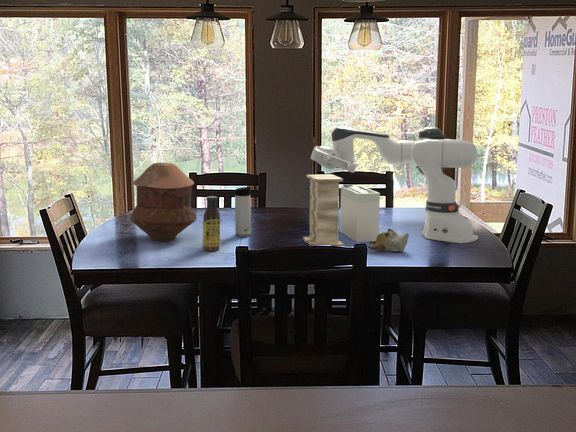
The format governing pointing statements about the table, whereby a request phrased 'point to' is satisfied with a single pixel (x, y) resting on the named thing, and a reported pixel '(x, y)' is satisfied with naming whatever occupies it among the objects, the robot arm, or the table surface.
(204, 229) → the sauce bottle
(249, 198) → the travel mug
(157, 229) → the pottery vessel
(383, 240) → the ceramic sculpture
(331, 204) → the birch pedestal
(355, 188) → the aluminium bar
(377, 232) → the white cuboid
